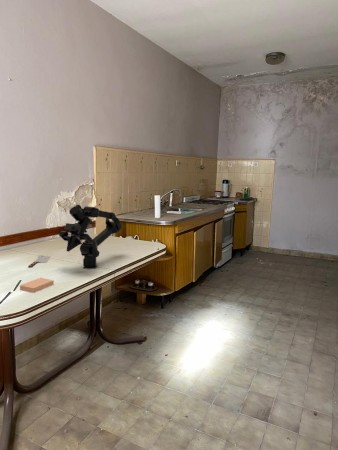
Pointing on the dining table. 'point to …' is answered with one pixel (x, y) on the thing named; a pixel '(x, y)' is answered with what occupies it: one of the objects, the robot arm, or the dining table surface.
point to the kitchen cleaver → (40, 260)
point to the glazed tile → (36, 285)
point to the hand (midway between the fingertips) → (67, 251)
